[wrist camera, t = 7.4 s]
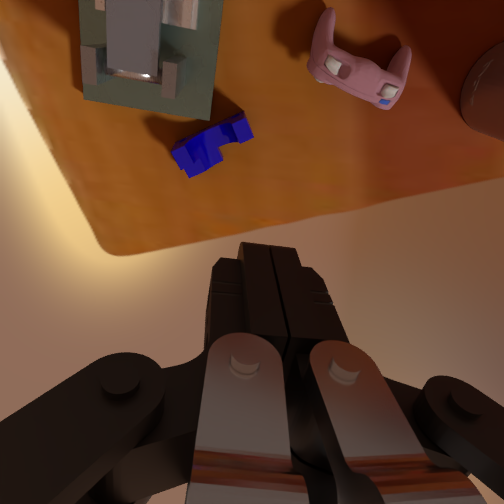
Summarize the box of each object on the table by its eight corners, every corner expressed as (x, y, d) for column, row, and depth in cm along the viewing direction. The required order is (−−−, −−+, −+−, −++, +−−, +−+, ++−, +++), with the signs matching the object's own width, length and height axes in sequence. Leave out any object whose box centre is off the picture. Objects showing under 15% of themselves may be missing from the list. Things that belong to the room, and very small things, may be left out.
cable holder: (190, 170, 40) (187, 183, 37) (175, 141, 39) (170, 151, 35) (256, 141, 39) (259, 151, 36) (243, 110, 37) (245, 117, 34)
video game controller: (301, 47, 36) (299, 86, 32) (324, -1, 32) (326, 37, 28) (383, 85, 38) (391, 126, 35) (414, 44, 35) (427, 85, 31)
